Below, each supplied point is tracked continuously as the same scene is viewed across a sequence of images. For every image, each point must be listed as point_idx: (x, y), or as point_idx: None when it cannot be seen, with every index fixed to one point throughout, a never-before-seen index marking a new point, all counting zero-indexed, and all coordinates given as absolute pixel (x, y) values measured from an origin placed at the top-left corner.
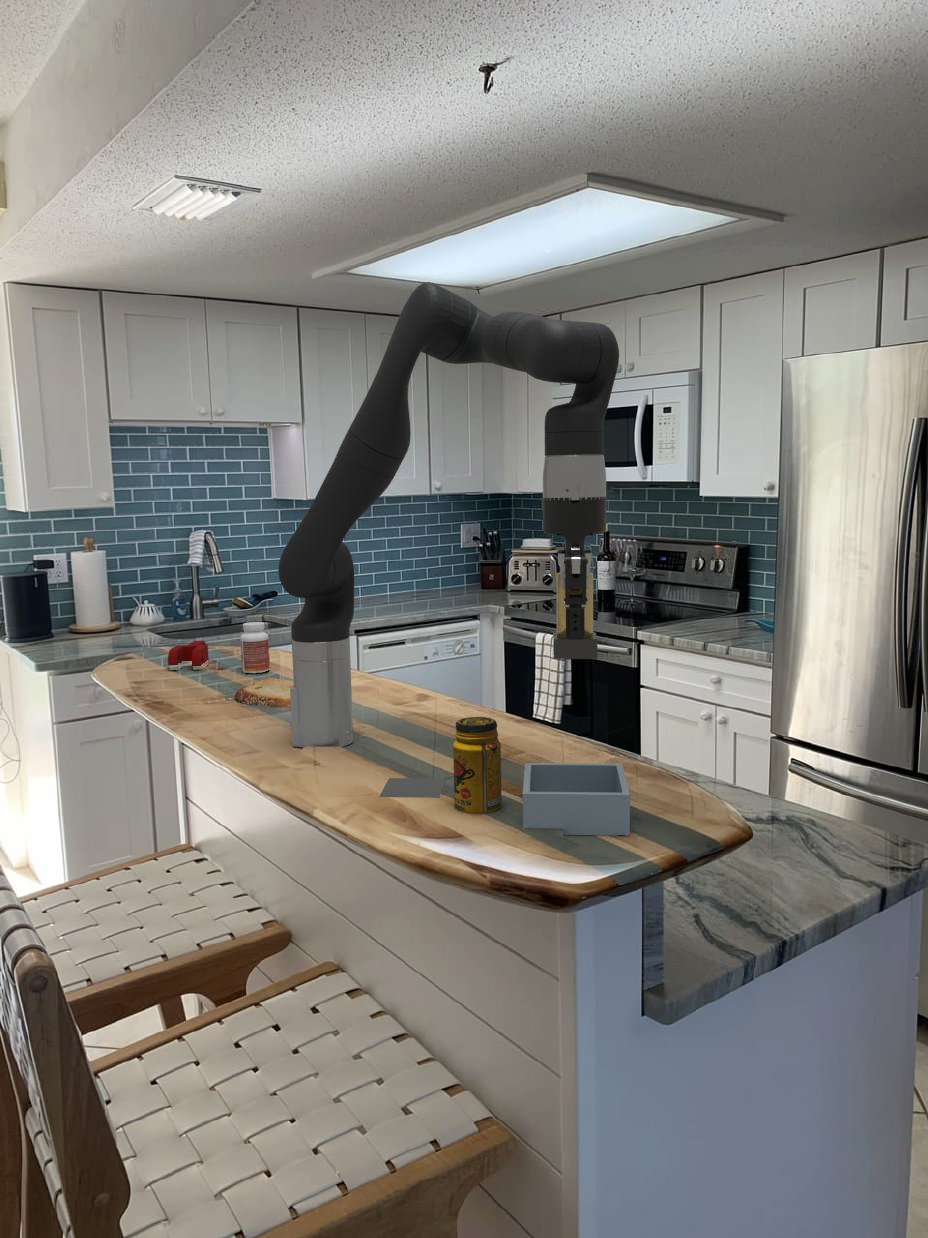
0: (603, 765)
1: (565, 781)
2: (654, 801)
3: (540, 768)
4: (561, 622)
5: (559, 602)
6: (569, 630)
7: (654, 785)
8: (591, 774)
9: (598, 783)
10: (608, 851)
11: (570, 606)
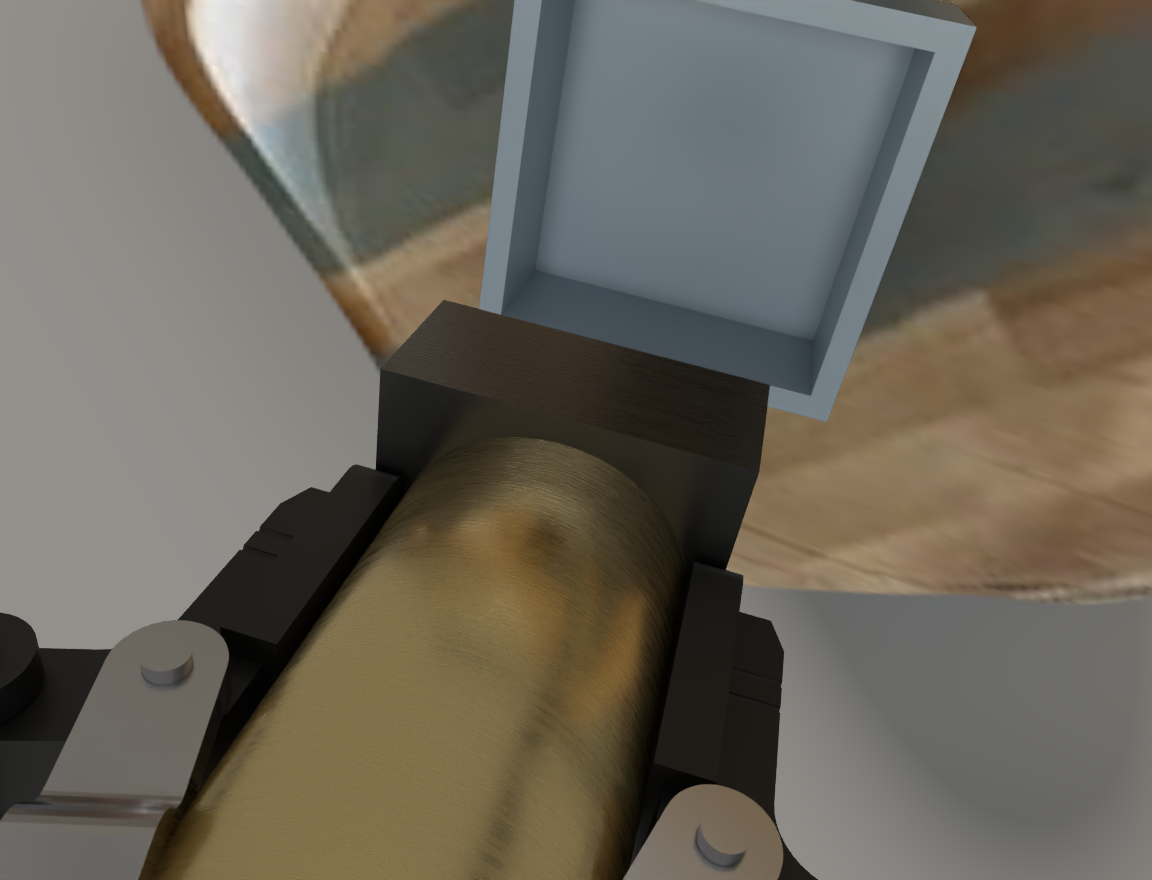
0: (826, 353)
1: (874, 189)
2: (796, 446)
3: (917, 95)
4: (403, 527)
5: (341, 661)
6: (277, 509)
7: (952, 503)
8: (840, 296)
9: (832, 307)
10: (407, 182)
11: (105, 657)
